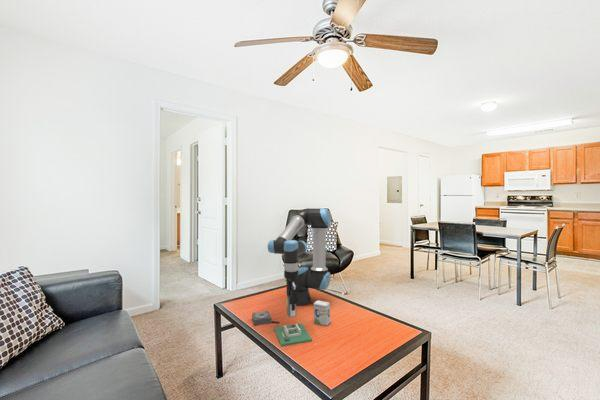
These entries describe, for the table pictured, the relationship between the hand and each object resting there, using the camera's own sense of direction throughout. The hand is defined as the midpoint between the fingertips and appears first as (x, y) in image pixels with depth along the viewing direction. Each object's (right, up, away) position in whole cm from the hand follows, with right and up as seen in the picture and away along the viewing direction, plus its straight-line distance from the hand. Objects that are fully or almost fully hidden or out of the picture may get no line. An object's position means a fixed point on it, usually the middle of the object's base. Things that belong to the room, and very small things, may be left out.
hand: (291, 313), depth 147 cm
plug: (0, -1, 0) cm, 1 cm away
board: (0, -11, +1) cm, 11 cm away
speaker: (-18, -11, +18) cm, 28 cm away
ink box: (+17, -11, +14) cm, 25 cm away
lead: (-10, -11, +15) cm, 21 cm away
